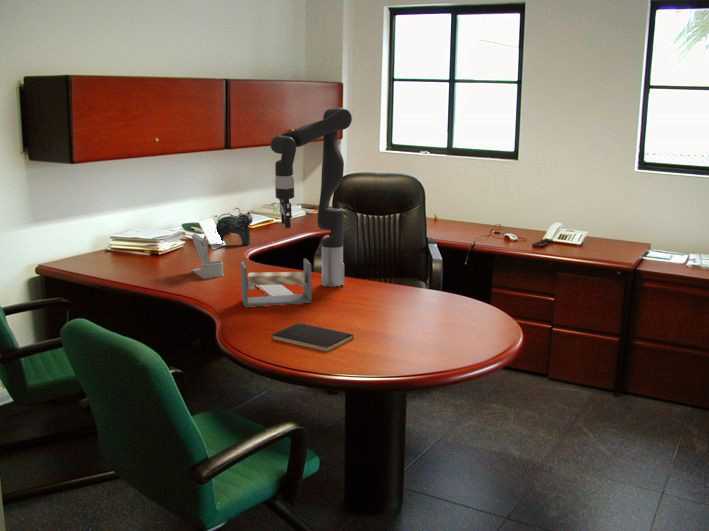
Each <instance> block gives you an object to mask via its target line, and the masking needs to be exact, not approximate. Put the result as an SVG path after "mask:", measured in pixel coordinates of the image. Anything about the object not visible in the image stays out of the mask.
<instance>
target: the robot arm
mask: <svg viewBox="0 0 709 531" xmlns="http://www.w3.org/2000/svg"><path fill="white" fill-rule="evenodd" d="M322 117H323V118H322V119H321V120H318V121H314V122H312V123H308V124H305V125H302V126H300V127H298V128H296V129H294V130H292V131H287V132H285V133H284V132H283V133H280V134H277V135H276V136H274V137H273V138H272V140H271V141H270V149H271V151H273V152H274V153H275V154H279V155H281V157H280V159H279V160H277V161H276V162H275V164H274V170H275V177H274V178H275V180H274V183H275V185H274V186H275V198H276V199H277V200H279V213H280V216H281V220H280V221H281V224H282V225H284V228H285V229H291V228H292V227H291V219H292V218H293V217H292V216H293V215H292V203H291V202H290V200H291V199H294V198H295V180H294V166H293V165H294V162H295V156H296V152H297V148H299V147H303V146H305V145H308V144H309V143H311V142H313V141H314V140H315V141H316V140H317V139H320V138H322V137H323V138H322V141H323V144H322V161H321V162H322V163H321V178H320V179H321V180H320V182H321V184H320V185H321V186H320V194H319V195H320V196H319V201H318V202H319V203H318V208H317V209H318V210H317V220H316V221H317V227H318V228H319V229H320V230H324V231H326V230H327V231H333V233H332V234H331V235H330V236H327V237H324V238H322V239H321V285H322V286H323V285H324V286H323V287H326V286H330V287H329V288H337V287H336V286H338V287H341V285H343V286H345V263H344V237H345V236H344V235H345V233H344V231H345V213H344V210H343V209H341V208H334V207H332V208H331V207H330V208H329V206H330V201H331V198H332V197H333V195H334V193H335V192H336V190H337V189H338V187H339V186H340V184H341V183H342V181H343V179H344V171H345V170H344V169H345V163H344V162H345V161H344V158H343V155H342V153H341V150H340V146H339V142H338V134H339V133H338V132H339V131H343V130H346V129H347V128H349V127H350V126H351V124H352V120H353V118H352V117H353V116H352V114H351V111H350V110H349V109H348V108H344V107H335V108H334V107H333V108H332V107H331V108H328V109H326V110H325V111H324V113H323V116H322Z"/></svg>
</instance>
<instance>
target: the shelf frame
mask: <svg viewBox="0 0 709 531" xmlns="http://www.w3.org/2000/svg"><path fill="white" fill-rule="evenodd" d="M247 267H248V266H247V265H246V263H245V261H241V262H240V276H241V277H240V278H241V280H240V281H241V301H243V302H242V304H243V303H244V304H243V306H245V307H250V306H251V308H253V307H252V306H264V305H280V306H282V305H281V304H295V305H302V304H301V303H310V304H312V303H313V302H312V301H313V300H312V298H313V297H312V263H311V262H310V261H309V260H308V259H307V258H303V272H304V278H305V284H298V285H299V288H301V287H302V288H303V293H301V294H300V293H298V294H295V295H281V296H266V295H265V296H253V297H252V296H251V297H249V294H248V292H249V291H252V290H255V289H256V287H255V286H254V285H248V280H247V279H248V268H247ZM245 307H244V308H245Z"/></svg>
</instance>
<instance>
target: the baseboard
mask: <svg viewBox="0 0 709 531" xmlns="http://www.w3.org/2000/svg"><path fill="white" fill-rule="evenodd" d="M247 281H248V278H247ZM256 286H257V287H259V288H260V289H261V290H263V291H265V292H266V293H267V294H268V295H269V296H281V295H296V294H295V293H293V291H291V290H290V289H288V288H287V287H285V285H256Z"/></svg>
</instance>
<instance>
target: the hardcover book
mask: <svg viewBox="0 0 709 531" xmlns="http://www.w3.org/2000/svg"><path fill="white" fill-rule="evenodd" d="M271 336H272V339H273V340H276V341H280V342H283V343H284V342H285V343H289V344H294V345H297V346H298V345H299V346H301V347H305V348H312V349H315V350H320V351H323V352H329V351H331V350H333V349H336V348H337V347H339V346H341V345H343V344H345V343H346V342H349V341H350V340H353V339H354V334H353V333H348V332H343V331H338V330H334V329H329V328H324V327H320V326H316V325H311V324H306V323H301V322H297V323H295V324H293V325H290V326H288V327H286V328H284V329H281V330H279V331H276V332H273V333H272V334H271Z"/></svg>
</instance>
